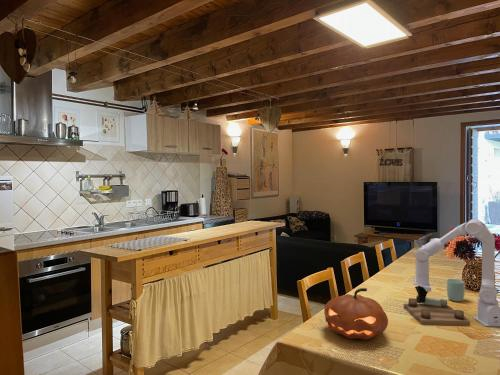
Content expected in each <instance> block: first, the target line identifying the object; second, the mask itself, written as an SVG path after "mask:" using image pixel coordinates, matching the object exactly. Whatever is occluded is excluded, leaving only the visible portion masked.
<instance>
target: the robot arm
mask: <svg viewBox="0 0 500 375" xmlns="http://www.w3.org/2000/svg"><path fill="white" fill-rule="evenodd" d="M467 235H469V236H471V237H474V238H476V239H477V240H478V241H479V242H481V243H482V244H481V285H480V288H479V289H480V290H479V291H478V298H477V316H472V318H473V319H475V320H476V321H477V322H479V323H480V324H482V325H483V326H485V327H500V305H499V300H498V299H497V298H498V296H497V294H498V289H497V286H496V284H495V282H496V281H495V271H496V270H495V269H496V268H495V264H496V263H495V256H496V255H495V254H496V251H495V250H496V246H495V245H496V244H495V242H496V240H495V236H494V235H493V233H492V232H491V231H490V230H489V228H488V227H487V224H485V223H484V222H482V221H481V220H479V219H476V218H472V219H470V220H468V221H467V222H463V223H462V224H460V225H457V226H456V227H455V228H453V229H452V230H451V231H449V232H448V233H446V234H445V235H443V236H442V237H440V238H437V237H436V238H435V237H434V238H431V239H429V242H427V243H426V244H422V245H421V246H420V247H419V248H418V249H416V250H415V252H414V258H415V278H413V282H412V285H414V286H415V287H414V289H415V290H416V292H417V295H418V297H419V302H420V303H419V304H422V303H425V299H426V297H427V295H428V293H429V292H431V293H432V287H431V284H430V263H429V262H430V261H429V260H430V257H433V256H434V255H436V254H438V253H439V252H441V251H442V250H444V249H445V244H448V243H449V242H451V241H452V240H454V239H455V238H457V237H459V236H467Z"/></svg>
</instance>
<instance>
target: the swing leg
mask: <svg viewBox="0 0 500 375" xmlns="http://www.w3.org/2000/svg"><path fill="white" fill-rule="evenodd" d="M415 299H416V300H417V304H428V305H434V306H440V307H447V305H448V300H447V299H443V298H442V299H441V298H440V299H439V298H432V297H427V296H426V299H425V303H420V302H419V297H418V294H417V295H416V297H415Z"/></svg>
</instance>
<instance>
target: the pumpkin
mask: <svg viewBox="0 0 500 375" xmlns="http://www.w3.org/2000/svg"><path fill="white" fill-rule="evenodd" d="M361 292H368V288H367V287H362V288H358V289H356V290H355V291H354V293H353V295H352V294H349V293H346V294H342V295H340V296H335V297H333V298H331V299H330V300H328V302H327V303H326V304H325V306H324V310H323V313H324V314H323V315H324V318H325V323H327V326H328V328H329V330H331V331H332V332H334V333H335V334H338V335H341V336H343V337H345V338H347V339H348V340H353V339H360V340H362V341H363V340H364V341H367V340H370V339H371V338H373V337H376V336H379V335H381V334H382V333H384V332H385V331H386V329H387V328H388V324H389V319H388V316H387V314H386V311H384V308H383V307H382V306H381V304H380V303H379V302H378V301H376V300H375V299H373V298H371V297H367V296H366V297H365V296H363V295H361V294H358V293H361Z"/></svg>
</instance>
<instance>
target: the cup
mask: <svg viewBox="0 0 500 375" xmlns="http://www.w3.org/2000/svg"><path fill="white" fill-rule="evenodd" d="M465 285H466V284H465V281H464V280H462V279H460V278H459V279H458V278H447V280H446V294H447V298H448V299H449V300H450V301H451V302H458V303H459V302H462V301H464V298H465V291H466V289H465V288H466V286H465Z"/></svg>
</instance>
